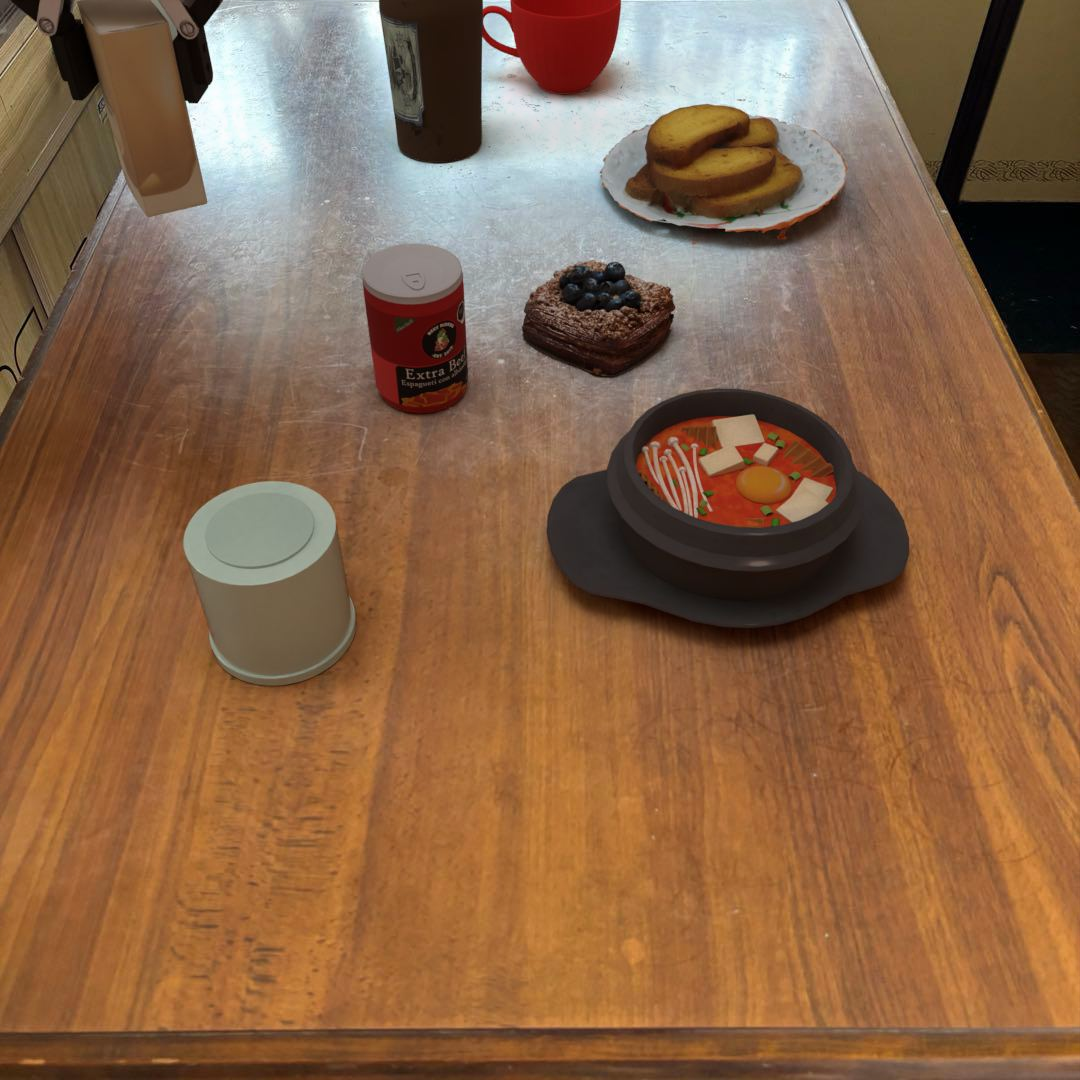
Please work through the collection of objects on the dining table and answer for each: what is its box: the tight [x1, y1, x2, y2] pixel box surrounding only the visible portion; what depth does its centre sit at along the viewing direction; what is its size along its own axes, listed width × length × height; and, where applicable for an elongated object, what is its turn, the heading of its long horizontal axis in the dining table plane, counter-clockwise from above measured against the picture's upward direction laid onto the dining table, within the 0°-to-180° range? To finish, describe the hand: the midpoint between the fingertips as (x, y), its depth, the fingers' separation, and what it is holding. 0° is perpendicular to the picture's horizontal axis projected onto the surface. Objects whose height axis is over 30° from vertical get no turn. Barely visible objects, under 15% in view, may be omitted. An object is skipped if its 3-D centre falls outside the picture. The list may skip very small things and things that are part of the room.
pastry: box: [521, 259, 676, 377], centre depth 95 cm, size 11×12×6 cm
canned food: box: [361, 243, 469, 414], centre depth 87 cm, size 8×8×11 cm
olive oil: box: [378, 0, 484, 163], centre depth 115 cm, size 11×11×25 cm
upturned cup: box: [182, 480, 357, 687], centre depth 69 cm, size 9×9×9 cm
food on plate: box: [599, 103, 849, 245], centre depth 114 cm, size 25×25×7 cm
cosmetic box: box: [76, 0, 208, 218], centre depth 72 cm, size 6×4×12 cm
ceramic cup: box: [482, 0, 622, 95], centre depth 132 cm, size 13×17×10 cm
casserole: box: [546, 387, 910, 629], centre depth 75 cm, size 25×19×8 cm
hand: (141, 91), depth 71 cm, fingers closed on cosmetic box, 6 cm apart
